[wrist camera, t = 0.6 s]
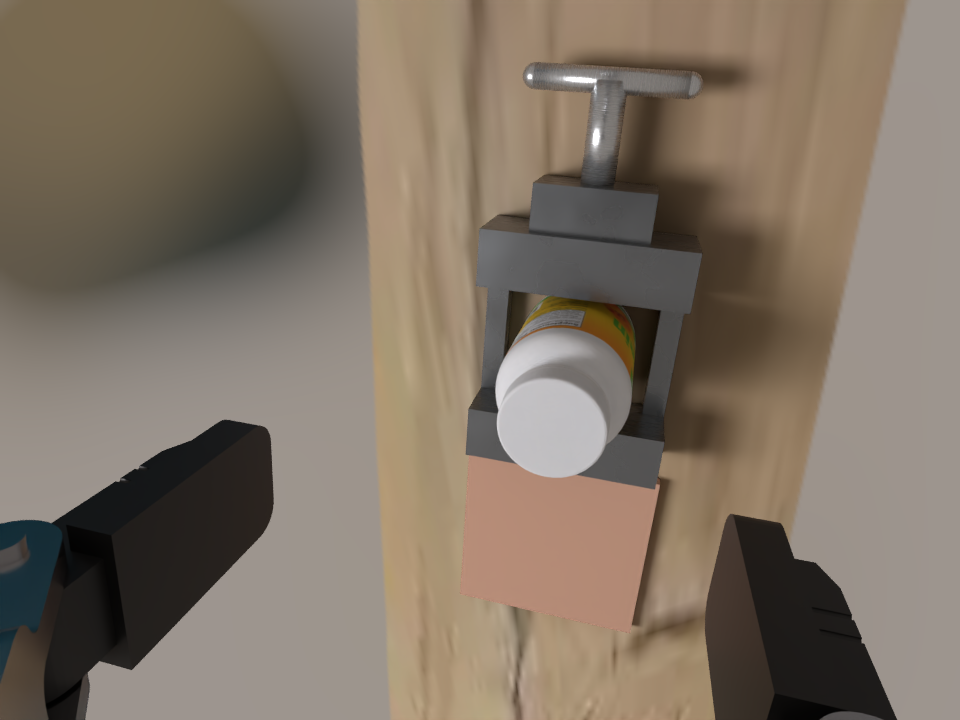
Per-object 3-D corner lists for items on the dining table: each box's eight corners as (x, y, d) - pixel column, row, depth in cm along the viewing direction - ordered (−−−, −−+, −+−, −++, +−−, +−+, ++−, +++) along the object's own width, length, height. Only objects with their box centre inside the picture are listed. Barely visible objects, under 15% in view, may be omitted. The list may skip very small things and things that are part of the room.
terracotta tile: (472, 444, 35) (469, 449, 34) (659, 478, 33) (660, 484, 32) (463, 587, 39) (460, 594, 38) (630, 625, 37) (629, 633, 36)
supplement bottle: (645, 379, 31) (642, 488, 23) (539, 395, 33) (498, 502, 24) (624, 273, 30) (612, 347, 21) (513, 296, 31) (459, 372, 23)
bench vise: (508, 62, 27) (490, 57, 24) (728, 74, 26) (738, 71, 23) (482, 421, 34) (465, 454, 31) (654, 451, 33) (655, 489, 29)
